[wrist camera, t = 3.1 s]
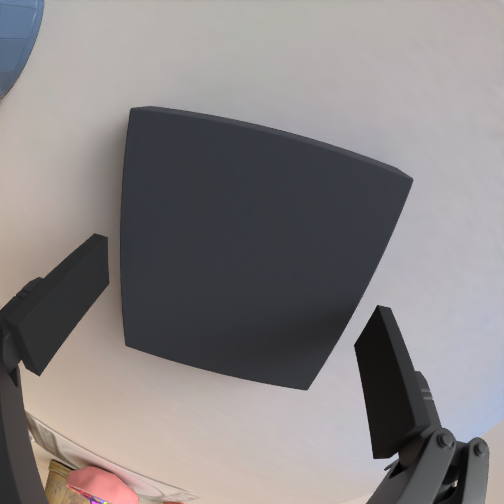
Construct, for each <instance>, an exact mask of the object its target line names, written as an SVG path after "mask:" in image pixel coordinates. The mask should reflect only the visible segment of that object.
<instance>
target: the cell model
mask: <svg viewBox="0 0 504 504" xmlns="http://www.w3.org/2000/svg"><path fill="white" fill-rule="evenodd" d="M65 485H66V486H67V487H69V488H70V489H72V490H73V491H75V492H76V493H78V494H80V495H82V496H83V497H85V498H87V499H88V500H90V504H139V502H140V498H139V496H138V494H137V493H136V492H135V491H134V489H133V488H131V487H130V486H129V485H127V484H126V483H124V482H123V481H121V480H120V479H119V478H118V477H117V476H116V475H115V474H113V473H110V472H107V471H105V470H103V469H100V468H98V467H94V466H89V467H85V468H82V469H79V470H73V471H70V472H69V474H68V477H67V480H66V483H65Z"/></svg>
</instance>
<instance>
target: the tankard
mask: <svg viewBox="0 0 504 504" xmlns="http://www.w3.org/2000/svg"><path fill="white" fill-rule="evenodd" d="M48 469H49V475H48V479H47V483H46V487H45V494H46V497H47V499H48V502H49V504H90V500H88V499H87V498H85V497H83V496H82V495H80V494H78V493H76V492H75V491H73V490H72V489H70V488H69V487H67V486H66V485H65V483H66V480H67V477H68V474H69V472H70V471H72V470H71V469H69V468H67V467H65V466H63V465H62V464H60V463H57V462H55V461H53V460H52V461H51V463H50V466H49V468H48Z"/></svg>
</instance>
